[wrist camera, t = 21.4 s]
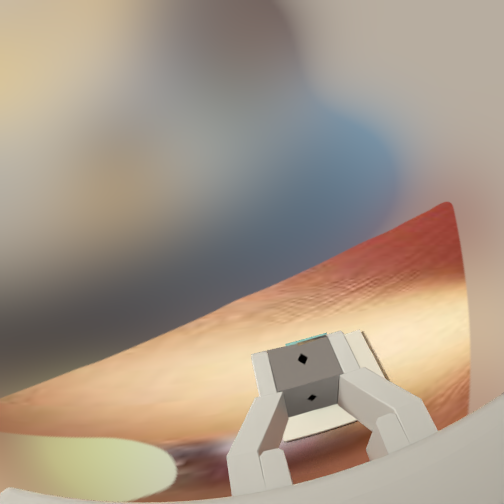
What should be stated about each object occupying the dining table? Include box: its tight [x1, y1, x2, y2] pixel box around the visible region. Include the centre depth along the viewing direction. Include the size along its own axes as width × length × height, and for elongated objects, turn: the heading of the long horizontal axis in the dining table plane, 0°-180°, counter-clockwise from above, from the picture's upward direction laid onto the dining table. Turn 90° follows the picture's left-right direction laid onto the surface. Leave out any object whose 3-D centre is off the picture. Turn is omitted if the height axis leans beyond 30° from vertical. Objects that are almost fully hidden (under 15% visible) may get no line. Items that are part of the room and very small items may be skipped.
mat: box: [268, 330, 385, 442], centre depth 40 cm, size 15×14×1 cm
